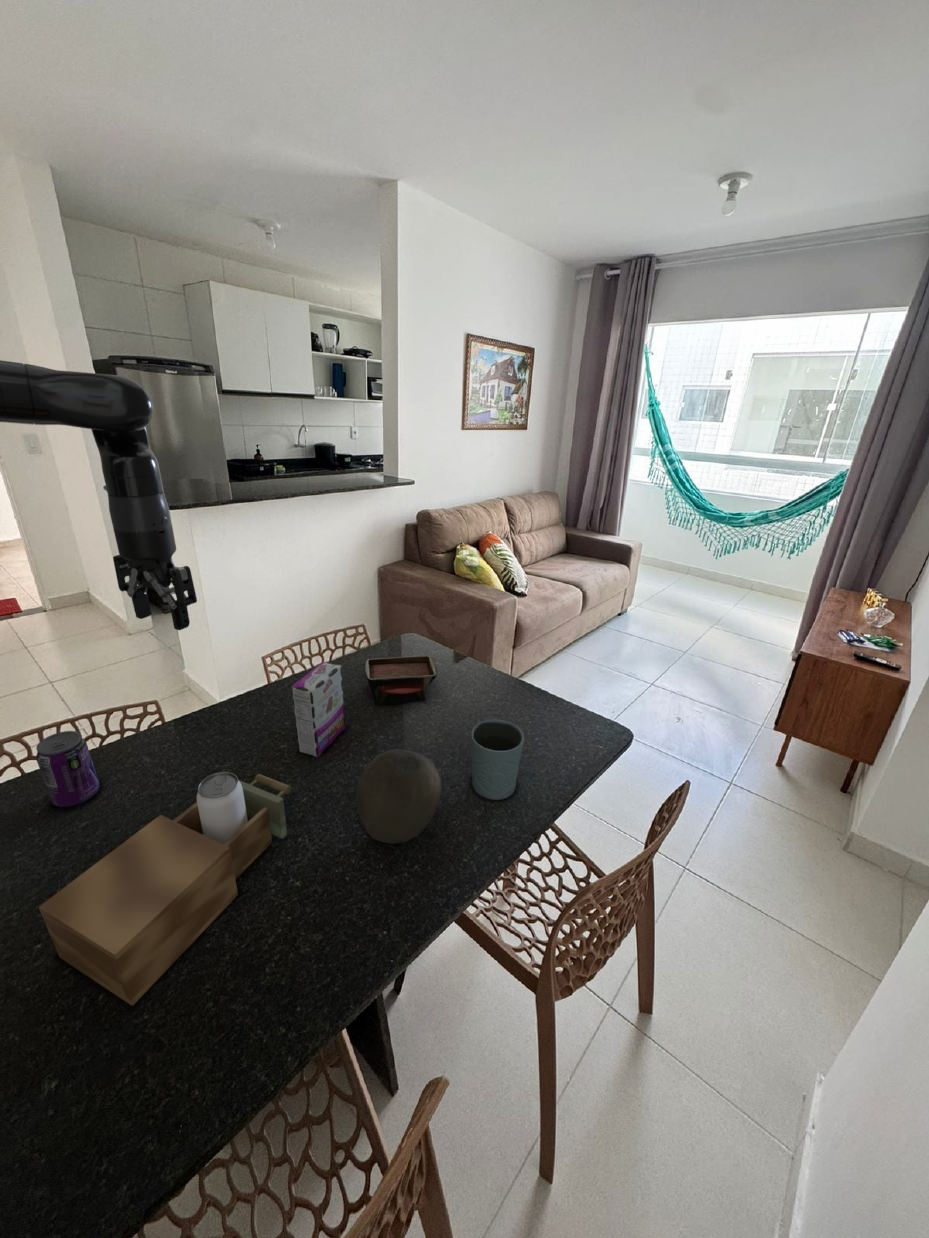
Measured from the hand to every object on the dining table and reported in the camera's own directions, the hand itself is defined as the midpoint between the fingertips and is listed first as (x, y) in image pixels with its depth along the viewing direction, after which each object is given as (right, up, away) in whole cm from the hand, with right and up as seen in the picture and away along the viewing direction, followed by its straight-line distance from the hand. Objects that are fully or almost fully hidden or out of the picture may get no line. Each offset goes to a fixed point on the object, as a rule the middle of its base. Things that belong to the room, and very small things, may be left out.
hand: (163, 622), depth 82 cm
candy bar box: (+18, -26, +29) cm, 42 cm away
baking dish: (+32, -18, +48) cm, 61 cm away
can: (+11, -36, 0) cm, 37 cm away
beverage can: (-22, -32, +10) cm, 40 cm away
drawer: (+11, -36, +1) cm, 38 cm away
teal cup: (+54, -32, +19) cm, 66 cm away
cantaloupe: (+37, -36, +7) cm, 53 cm away
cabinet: (+5, -42, -11) cm, 44 cm away
